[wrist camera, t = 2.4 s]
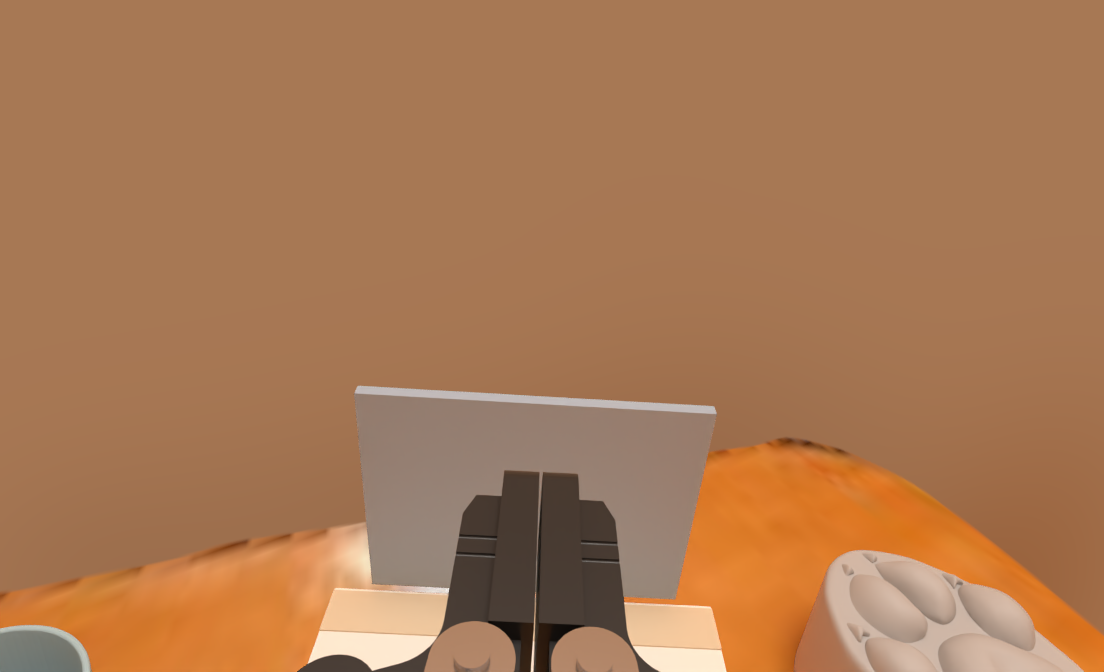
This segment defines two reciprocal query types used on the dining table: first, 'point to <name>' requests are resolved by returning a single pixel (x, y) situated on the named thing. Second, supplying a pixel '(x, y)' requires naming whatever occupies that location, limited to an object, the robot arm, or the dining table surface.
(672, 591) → the flap
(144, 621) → the dining table surface
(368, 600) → the carton
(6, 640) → the cup
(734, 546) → the dining table surface
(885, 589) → the paw print tray
